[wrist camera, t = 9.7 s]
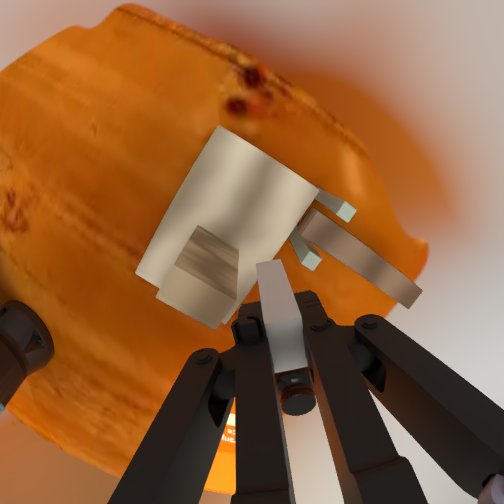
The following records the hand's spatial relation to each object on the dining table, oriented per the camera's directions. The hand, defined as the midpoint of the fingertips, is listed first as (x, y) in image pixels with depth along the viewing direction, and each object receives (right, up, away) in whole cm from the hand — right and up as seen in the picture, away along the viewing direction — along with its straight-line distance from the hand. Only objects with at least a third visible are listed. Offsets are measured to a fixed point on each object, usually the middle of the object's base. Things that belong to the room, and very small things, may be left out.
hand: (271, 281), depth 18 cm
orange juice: (-6, -26, +33) cm, 42 cm away
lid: (-4, +4, +13) cm, 15 cm away
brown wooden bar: (+11, +1, +13) cm, 17 cm away
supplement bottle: (+5, -15, +29) cm, 32 cm away
